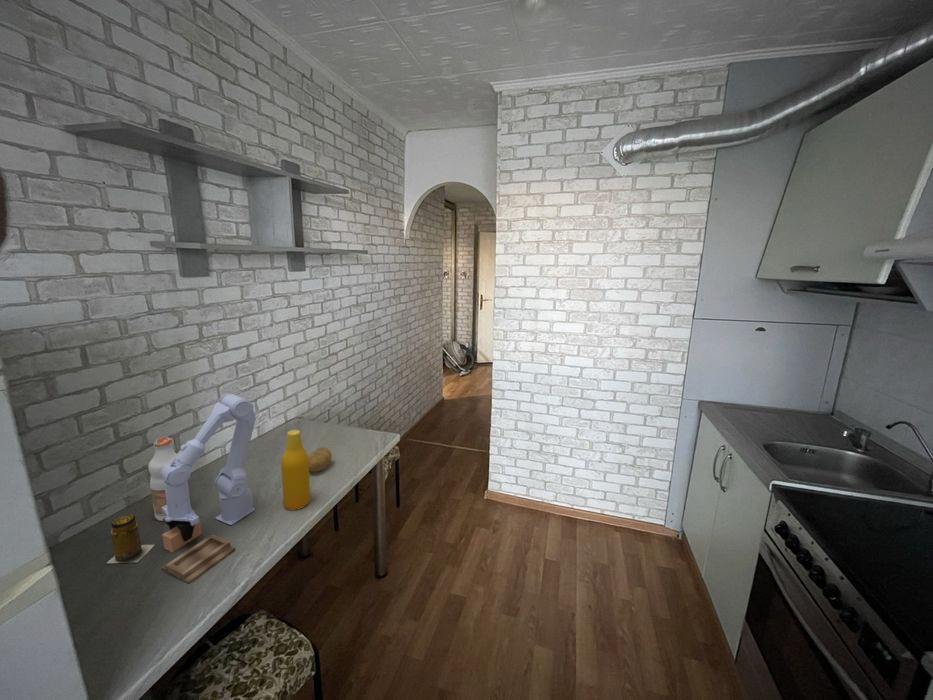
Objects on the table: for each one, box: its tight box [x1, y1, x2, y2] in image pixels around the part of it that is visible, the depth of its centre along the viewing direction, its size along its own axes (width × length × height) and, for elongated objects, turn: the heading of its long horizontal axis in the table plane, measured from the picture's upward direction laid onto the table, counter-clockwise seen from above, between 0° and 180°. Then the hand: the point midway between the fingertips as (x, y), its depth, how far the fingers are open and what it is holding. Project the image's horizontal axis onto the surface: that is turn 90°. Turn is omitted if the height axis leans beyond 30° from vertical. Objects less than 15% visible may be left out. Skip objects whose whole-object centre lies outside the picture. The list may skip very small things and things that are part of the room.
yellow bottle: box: [280, 429, 311, 510], centre depth 139 cm, size 9×9×29 cm
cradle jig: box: [160, 534, 236, 585], centre depth 114 cm, size 14×12×2 cm
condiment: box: [106, 514, 155, 564], centre depth 113 cm, size 7×8×12 cm
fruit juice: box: [147, 437, 178, 522], centre depth 130 cm, size 9×9×28 cm
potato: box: [307, 446, 333, 473], centre depth 165 cm, size 10×14×8 cm
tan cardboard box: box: [161, 519, 203, 553], centre depth 120 cm, size 9×4×5 cm, turn 159°
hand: (183, 537), depth 121 cm, fingers closed on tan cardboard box, 4 cm apart
